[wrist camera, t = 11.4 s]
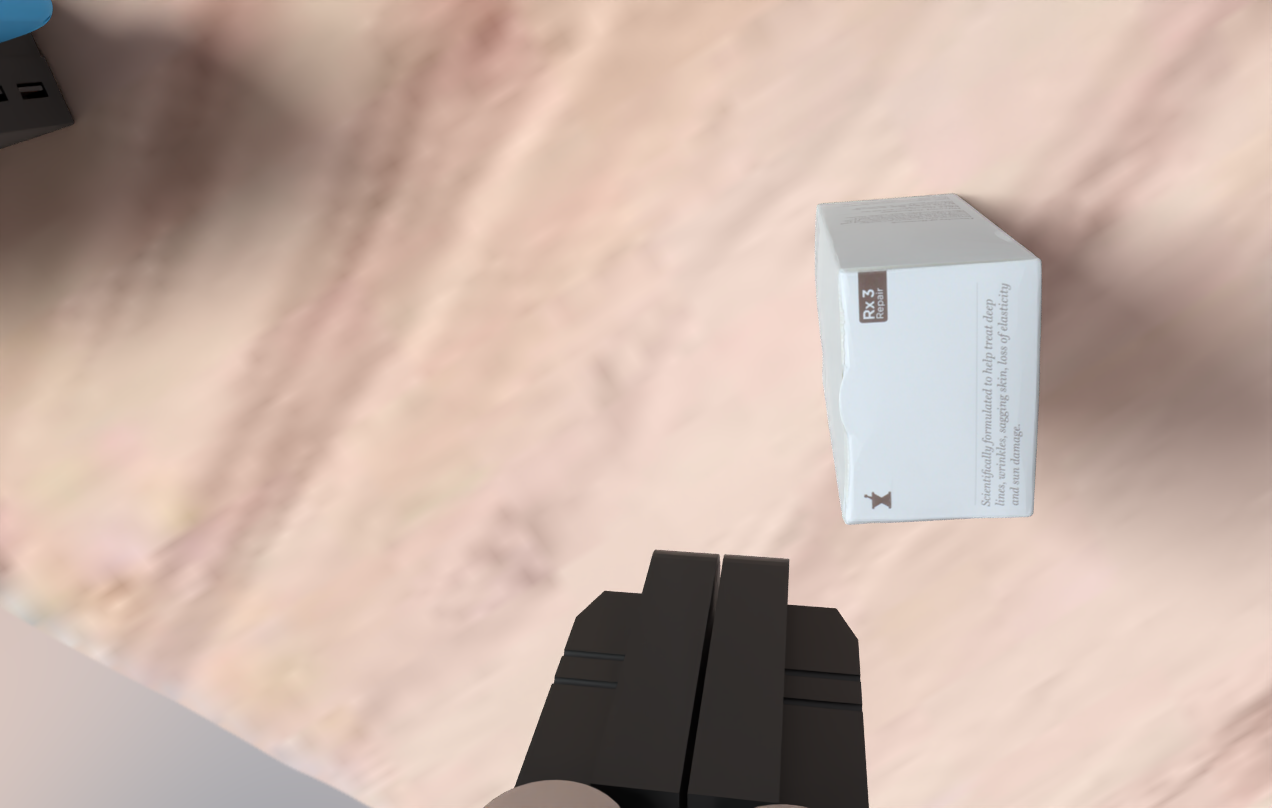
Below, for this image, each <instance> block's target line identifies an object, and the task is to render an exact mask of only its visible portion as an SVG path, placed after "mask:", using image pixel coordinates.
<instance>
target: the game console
mask: <svg viewBox="0 0 1272 808" xmlns="http://www.w3.org/2000/svg"><path fill="white" fill-rule="evenodd" d="M52 12H53V6H52V2H51V0H0V149H1V148H4V147H7V146H10V145H13V144H16V143H19V142H22V141H25V140H28V139H31V138H34V137H37V136H40V135H43V134H46V133H50V132H53V131H56V130H59V129H62V128H65V127H68V126H70V125H73V124H74V121H73V119H72V116H71V114H70V112H69V110H68V108H67V105H66V103H65V101H64V99H63V97H62V94H61V92H60V90H59V88H58V86H57V83H56V81H55V79H54V77H53V75H52V72H51V70H50V68H49V66H48V64H47V61H46V59H45V57H41V55H40V52H39V50H38V48H37V46H36V44H35V41H34V39H33V37H32V35H31V33H30V32H32V31H35V30H37V29H39V28H40V27H42V26H44V25H45V24H46V23H47V22H48V21H49V20H50V18H51V16H52Z"/></svg>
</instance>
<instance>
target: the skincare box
mask: <svg viewBox="0 0 1272 808" xmlns="http://www.w3.org/2000/svg"><path fill="white" fill-rule="evenodd" d="M815 281H816V297H817V309H818V318H819V327H820V337H821V344H822V352H823V369H822V376H823V386H824V394H825V400H826V408H827V416H828V424H829V430H830V437H831V443H832V450H833V457H834V463H835V470H836V477H837V484H838V491H839V498H840V505H841V511H842V517H843V519H844V521H845V523H846V524H848V525H851V524H864V523H894V522H914V521H933V520H950V519H968V518H1010V517H1029V516H1032V514H1033V510H1034V490H1035V470H1036V451H1037V432H1038V409H1039V381H1040V340H1041V302H1042V263H1041V259H1040V258H1038V257H1036V256H1035V255H1034V254H1033V253H1032V252H1030V251H1029V250H1028V249H1026V248H1025V247H1024V246H1023V245H1021V244H1020V243H1018V242H1017V241H1016V240H1014V239H1013V238H1012V237H1011V236H1009V235H1008V234H1007V233H1006V232H1004V231H1003V230H1002V229H1000V228H999V227H998V226H997V225H995V224H994V223H993V222H991V221H990V220H989V219H987V218H986V217H985V216H984V215H982V214H981V213H980V212H979V211H978V210H976V209H975V208H973V207H972V206H971V205H969V204H968V203H967V202H966V201H964V200H963V199H962V198H960V197H959V196H958V195H957V194H940V195H927V196H914V197H902V198H888V199H875V200H862V201H849V202H836V203H823V204H818V205H817V211H816V227H815Z"/></svg>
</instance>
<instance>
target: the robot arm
mask: <svg viewBox="0 0 1272 808" xmlns="http://www.w3.org/2000/svg"><path fill="white" fill-rule="evenodd" d="M788 579H789V559H783V558H768V557H754V556H740V555H726V554H725V555H724V558H723V564H722V571H721V577H720V556H719V554H708V553H694V552H679V551H665V550H655V551H654V552H653V555H652V559H651V562H650V566H649V570H648V573H647V577H646V581H645V584H644V588H643V592H642V594H639V593H626V592H613V591H604V592H603V593H602V594H601V595H600V596H598V597H597V598H596V599H595V600H594V601H593V602H592V603H591V604H590V605H589V606H588V607H587V608H586V609H584V610H583V611H582V612H581V613H580V614H579V615H578V616H577V617H576V619H575V622H574V624H573V627H572V630H571V633H570V636H569V638H568V641H567V644H566V647H565V649H564V656H562V658H561V660H560V663H559V666H558V669H557V671H556V674H555V680H554V684H552V685H551V688H550V691H549V694H548V696H547V699H546V702H545V705H544V707H543V710H542V713H541V716H540V718H539V721H538V724H537V727H536V729H535V732H534V735H533V738H532V741H531V743H530V746H529V749H528V752H527V754H526V757H525V760H524V763H523V765H522V768H521V771H520V774H519V776H518V779H517V782H516V785H515V787H514V788H513V789H511V790H509V791H507V792H504V793H503V794H501V795H500V796H498V797H496V798H495V799H493V800H492V801H491V802H489V803H488V804H487V805H486V806H485V807H484V808H869V803H868V787H867V771H866V756H865V740H864V724H863V712H862V693H861V682H860V661H859V646H858V639H857V638H856V636H855V635H854V633H853V632H852V630H851V629H850V627H849V626H848V625H847V623H846V622H845V620H844V619H843V617H842V616H841V614H840V613H839V612H838V610H837V609H836V608H824V607H811V606H798V605H787V602H788Z"/></svg>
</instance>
